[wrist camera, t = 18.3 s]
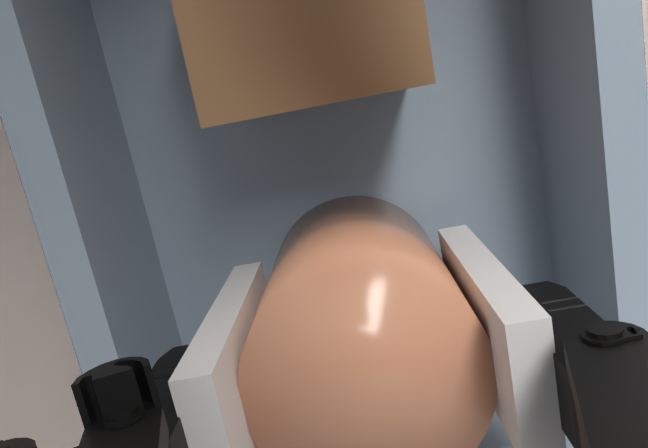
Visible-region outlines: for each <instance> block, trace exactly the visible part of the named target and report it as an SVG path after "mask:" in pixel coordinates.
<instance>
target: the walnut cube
mask: <svg viewBox="0 0 648 448" xmlns="http://www.w3.org/2000/svg"><path fill="white" fill-rule="evenodd" d="M171 4H172V8H173V13H174V17H175V21H176V25H177V30H178V34H179V38H180V42H181V47H182V51H183V55H184V59H185V64H186V68H187V72H188V76H189V80H190V85H191V89H192V93H193V97H194V102H195V106H196V110H197V114H198V119H199V123H200V127H201V129H202V128H207V127H213V126H218V125H223V124H228V123H233V122H239V121H244V120H249V119H254V118H259V117H264V116H270V115H275V114H280V113H285V112H290V111H295V110H301V109H306V108H311V107H316V106H321V105H327V104H332V103H337V102H342V101H347V100H352V99H358V98H363V97H368V96H373V95H378V94H383V93H389V92H394V91H399V90H404V89H409V88H415V87H420V86H425V85H430V84H435V83H436V81H435V74H434V67H433V60H432V53H431V46H430V39H429V32H428V25H427V18H426V11H425V3H424V0H171Z"/></svg>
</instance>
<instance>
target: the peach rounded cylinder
mask: <svg viewBox="0 0 648 448" xmlns="http://www.w3.org/2000/svg"><path fill="white" fill-rule="evenodd" d="M237 386H238V390H239V394H240V398H241V402H242V406H243V410H244V414H245V418H246V422H247V426H248V430H249V434H250V435H251V437H252V439H253V440H254V442H255V444H256V446H257V447H258V448H477V447H478V446H479V444H480V442H481V441H482V439H483V438H484V436H485V434H486V432H487V430H488V428H489V425H490V423H491V421H492V418H493V414H494V411H495V408H496V402H497V395H498V390H497V383H496V376H495V368H494V361H493V354H492V347H491V342H490V340H489V338H488V336H487V334H486V331H485V329H484V328H483V326H482V324H481V323H480V321H479V319H478V318H477V316H476V314H475V313H474V311H473V309H472V308H471V306H470V305H469V303H468V301H467V300H466V298H465V296H464V295H463V293H462V291H461V290H460V288H459V286H458V285H457V283H456V282H455V280H454V278H453V277H452V275H451V273H450V272H449V270H448V268H447V267H446V265H445V263H444V262H443V260H442V258H441V257H440V255H439V254H438V252H437V250H436V249H435V247H434V245H433V244H432V242H431V240H430V239H429V237H428V236H427V234H426V232H425V231H424V229H423V228H422V227H421V226H420V224H419V223H418V222H417V221H416V220H415V219H414V218H413V217H412V216H411V215H410V214H408V213H407V212H406V211H404V210H403V209H401V208H400V207H398V206H396V205H394V204H392V203H390V202H387V201H384V200H381V199H378V198H373V197H368V196H346V197H341V198H335V199H332V200H329V201H326V202H324V203H322V204H320V205H318V206H316V207H314V208H313V209H311V210H310V211H308V212H306V213H305V214H304V215H303V216H302V217H301V218H300V219H298V220H297V222H296V223H295V224H294V225H293V226H292V227H291V229H290V230H289V232H288V233H287V235H286V236H285V238H284V240H283V242H282V244H281V247H280V250H279V252H278V255H277V258H276V260H275V263H274V266H273V269H272V271H271V274H270V277H269V279H268V282H267V285H266V288H265V290H264V293H263V296H262V298H261V301H260V304H259V307H258V309H257V312H256V315H255V317H254V320H253V323H252V326H251V328H250V331H249V334H248V336H247V339H246V342H245V345H244V348H243V351H242V354H241V357H240V363H239V368H238V381H237Z"/></svg>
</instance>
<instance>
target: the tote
mask: <svg viewBox="0 0 648 448" xmlns="http://www.w3.org/2000/svg"><path fill="white" fill-rule="evenodd" d="M424 3H425V11H426V18H427V25H428V32H429V39H430V46H431V53H432V60H433V67H434V74H435V81H436V83H435V84H430V85H425V86H420V87H415V88H409V89H404V90H399V91H394V92H389V93H383V94H378V95H373V96H368V97H363V98H358V99H352V100H347V101H342V102H337V103H332V104H327V105H321V106H316V107H311V108H306V109H301V110H295V111H290V112H285V113H280V114H275V115H270V116H264V117H259V118H254V119H249V120H244V121H239V122H233V123H228V124H223V125H218V126H213V127H207V128H202V129H201V127H200V123H199V119H198V114H197V110H196V106H195V102H194V97H193V93H192V89H191V85H190V80H189V76H188V72H187V68H186V64H185V59H184V55H183V51H182V47H181V42H180V38H179V34H178V30H177V25H176V21H175V17H174V13H173V8H172V4H171V0H0V116H1V119H2V122H3V126H4V129H5V132H6V135H7V138H8V141H9V144H10V148H11V151H12V154H13V157H14V160H15V163H16V167H17V170H18V173H19V176H20V179H21V182H22V186H23V189H24V192H25V195H26V198H27V201H28V204H29V208H30V211H31V214H32V217H33V220H34V223H35V227H36V230H37V233H38V236H39V239H40V242H41V246H42V249H43V252H44V255H45V258H46V261H47V264H48V268H49V271H50V274H51V277H52V280H53V283H54V287H55V290H56V293H57V296H58V299H59V302H60V306H61V309H62V312H63V315H64V318H65V321H66V324H67V328H68V331H69V334H70V337H71V340H72V343H73V347H74V350H75V353H76V356H77V359H78V362H79V366H80V369H81V372H82V374H84V373H85V372H87V371H88V370H90V369H92V368H94V367H97V366H99V365H101V364H103V363H106V362H109V361H112V360H115V359H120V358H125V357H144V358H147V359H148V360H149V362H150V365H151V369H152V368H153V366H154V365H155V363H156V362H157V360H158V359H159V358H160V357H161V356H163V355H164V354H165V353H167V352H168V351H169V350H171V349H172V348H173V347H177V346H183V345H189V344H190V343H191V341H192V339H193V338H194V336H195V334H196V332H197V331H198V329H199V327H200V325H201V324H202V322H203V320H204V319H205V317H206V315H207V313H208V312H209V310H210V308H211V306H212V305H213V303H214V301H215V300H216V298H217V296H218V294H219V293H220V291H221V289H222V287H223V286H224V284H225V282H226V281H227V279H228V277H229V275H230V274H231V272H232V270H233V268H234V267H235V266H239V265H245V264H250V263H256V262H261V263H262V267H263V272H264V276H265V281H266V285H267V282H268V279H269V277H270V274H271V271H272V269H273V266H274V263H275V260H276V258H277V255H278V252H279V250H280V247H281V244H282V242H283V240H284V238H285V236H286V235H287V233H288V232H289V230H290V229H291V227H292V226H293V225H294V224H295V223H296V222H297V220H298V219H300V218H301V217H302V216H303V215H304V214H305V213H306V212H308V211H310V210H311V209H313V208H314V207H316V206H318V205H320V204H322V203H324V202H326V201H329V200H332V199H335V198H341V197H346V196H368V197H373V198H378V199H381V200H384V201H387V202H390V203H392V204H394V205H396V206H398V207H400V208H401V209H403V210H404V211H406V212H407V213H408V214H410V215H411V216H412V217H413V218H414V219H415V220H416V221H417V222H418V223H419V224H420V226H421V227H422V228H423V229H424V231H425V232H426V234H427V236H428V237H429V239H430V240H431V242H432V244H433V245H434V247H435V249H436V250H437V252H438V254H439V255H440V257H441V258H442V254H441V248H440V241H439V235H438V229H444V228H449V227H455V226H460V225H466V226H467V227H468V228H469V229H470V230H471V231H472V232H473V233H474V234H475V235H476V237H477V238H478V239H479V240H480V241H481V242H482V243H483V244H484V245H485V246H486V247H487V248H488V249H489V251H490V252H491V253H492V254H493V255H494V256H495V257H496V258H497V259H498V260H499V261H500V262H501V263H502V265H503V266H504V267H505V268H506V269H507V270H508V271H509V272H510V273H511V274H512V275H513V276H514V277H515V279H516V280H517V281H518V282H519V283H520V284H521V285H526V284H532V283H537V282H543V281H550V282H553V283H556V284H559V285H562V286H565V287H567V288H568V289H569V290H570V291H571V292H572V293H573V294H575V295H576V297H577V298H579V299H580V300H581V301H583V302H584V303H585V306H586V305H587V306H588V307H589V308H591V309H592V310H593V311H594V312H595V313H596V314H597V315H599V316H600V317H601V318H602V319H603V320H604V321H620V322H626V323H631V324H634V325H636V326H639V327H642V328H644V329H645V330H646V331H647V332H648V92H647V77H646V62H645V47H644V31H643V16H642V1H641V0H424ZM565 440H566V448H574V447H573V446H572V444H571V443H570V441H569V440H568V438H567V437H566V435H565ZM477 448H513V446H512V444H511V442H510V440H509V438H508V436H507V434H506V432H505V430H504V428H503V426H502V424H501V422H500V420H499V417H498V415H497V413H496V411H494V414H493V418H492V421H491V423H490V425H489V428H488V430H487V432H486V434H485V436H484V438H483V439H482V441H481V442H480V444H479V446H478V447H477Z"/></svg>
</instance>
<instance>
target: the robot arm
mask: <svg viewBox="0 0 648 448" xmlns="http://www.w3.org/2000/svg"><path fill="white" fill-rule="evenodd" d="M438 235H439V241H440V248H441V254H442V260H443V262H444V263H445V265H446V267H447V268H448V270H449V272H450V273H451V275H452V277H453V278H454V280H455V282H456V283H457V285H458V286H459V288H460V290H461V291H462V293H463V295H464V296H465V298H466V300H467V301H468V303H469V305H470V306H471V308H472V309H473V311H474V313H475V314H476V316H477V318H478V319H479V321H480V323H481V324H482V326H483V328H484V329H485V331H486V334H487V336H488V338H489V340H490V342H491V347H492V354H493V361H494V368H495V376H496V383H497V390H498V395H497V402H496V408H495V411H496V413H497V415H498V417H499V420H500V422H501V424H502V426H503V428H504V430H505V432H506V434H507V436H508V438H509V440H510V442H511V444H512V446H513V448H566V440H565V435H566V437H567V438H568V440H569V441H570V443H571V444H572V446H573V447H574V448H648V332H647V331H646V330H645V329H644V328H642V327H639V326H636V325H634V324H631V323H626V322H620V321H604V320H603V319H602V318H601V317H600V316H599V315H597V314H596V313H595V312H594V311H593V310H592V309H591V308H589V307H588V306H587V305H586V306H585V303H584V302H583V301H581V300H580V299H579V298H577V297H576V295H575V294H573V293H572V292H571V291H570V290H569V289H568V288H567V287H565V286H562V285H559V284H556V283H553V282H550V281H543V282H537V283H532V284H526V285H521V284H520V283H519V282H518V281H517V280H516V279H515V277H514V276H513V275H512V274H511V273H510V272H509V271H508V270H507V269H506V268H505V267H504V266H503V265H502V263H501V262H500V261H499V260H498V259H497V258H496V257H495V256H494V255H493V254H492V253H491V252H490V251H489V249H488V248H487V247H486V246H485V245H484V244H483V243H482V242H481V241H480V240H479V239H478V238H477V237H476V235H475V234H474V233H473V232H472V231H471V230H470V229H469V228H468V227H467V226H466V225H460V226H455V227H449V228H444V229H438ZM265 288H266V281H265V276H264V272H263V267H262V263H261V262H256V263H250V264H245V265H239V266H235V267H234V268H233V270H232V272H231V274H230V275H229V277H228V279H227V281H226V282H225V284H224V286H223V287H222V289H221V291H220V293H219V294H218V296H217V298H216V300H215V301H214V303H213V305H212V306H211V308H210V310H209V312H208V313H207V315H206V317H205V319H204V320H203V322H202V324H201V325H200V327H199V329H198V331H197V332H196V334H195V336H194V338H193V339H192V341H191V343H190V344H189V345H183V346H177V347H173V348H172V349H171V350H169V351H168V352H167V353H165V354H164V355H163V356H161V357H160V358H159V359H158V360H157V362H156V363H155V365H154V366H153V368H152V369H151V365H150V362H149V360H148V359H147V358H144V357H125V358H120V359H115V360H112V361H109V362H106V363H103V364H101V365H99V366H97V367H94V368H92V369H90V370H88V371H87V372H85V373H84V374H82V375H81V376H80V377H78V378H77V379H76V380H75V381H74V383H73V384H72V385H71V387H72V391H73V394H74V397H75V400H76V403H77V406H78V409H79V412H80V416H81V419H82V422H83V425H84V428H85V430H84V432H83V435H82V438H81V441H80V444H79V446H77V447H74V448H258V447H257V446H256V444H255V442H254V440H253V439H252V437H251V435H250V434H249V430H248V426H247V422H246V418H245V414H244V410H243V406H242V402H241V398H240V394H239V390H238V386H237V381H238V368H239V363H240V357H241V354H242V351H243V348H244V345H245V342H246V339H247V336H248V334H249V331H250V328H251V326H252V323H253V320H254V317H255V315H256V312H257V309H258V307H259V304H260V301H261V298H262V296H263V293H264V290H265ZM0 448H37V446H36V443H35V440H32V439H29V438H14V439H10V440H6V441H3V440H1V441H0Z"/></svg>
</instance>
